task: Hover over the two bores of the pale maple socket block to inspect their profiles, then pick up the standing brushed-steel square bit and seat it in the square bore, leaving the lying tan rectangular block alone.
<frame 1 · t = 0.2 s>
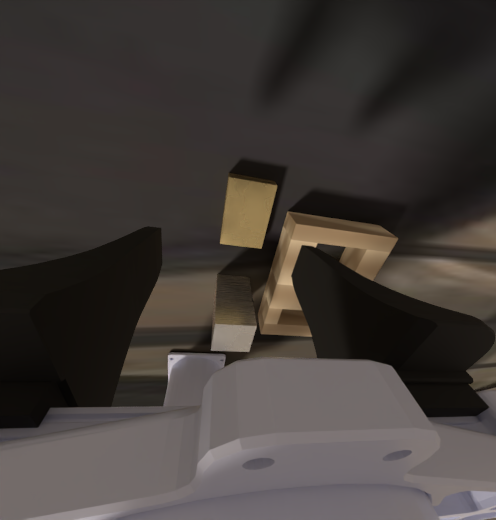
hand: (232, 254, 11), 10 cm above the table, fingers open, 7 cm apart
socket block: (311, 274, 25), on the table
tan rectangular block: (245, 208, 21), on the table
square bit: (231, 288, 25), on the table
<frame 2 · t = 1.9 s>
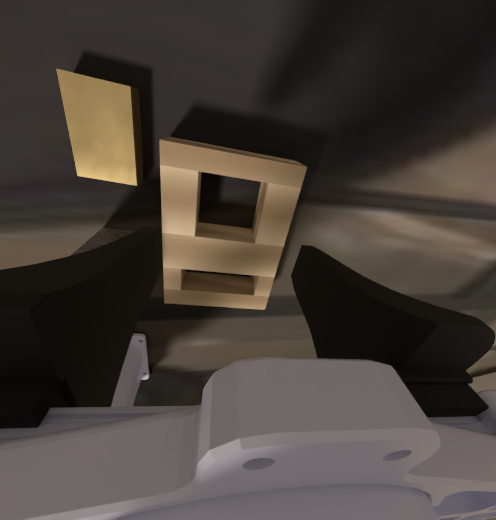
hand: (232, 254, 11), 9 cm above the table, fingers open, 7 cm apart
socket block: (224, 230, 21), on the table
box: (468, 408, 51), on the table
tan rectangular block: (114, 133, 16), on the table
square bit: (126, 247, 21), on the table
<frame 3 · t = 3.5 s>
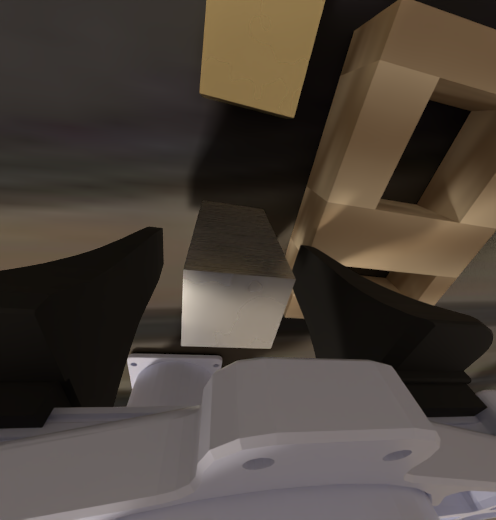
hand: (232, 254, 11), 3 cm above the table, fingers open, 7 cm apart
socket block: (378, 206, 14), on the table
tan rectangular block: (258, 24, 9), on the table
square bit: (229, 232, 14), on the table
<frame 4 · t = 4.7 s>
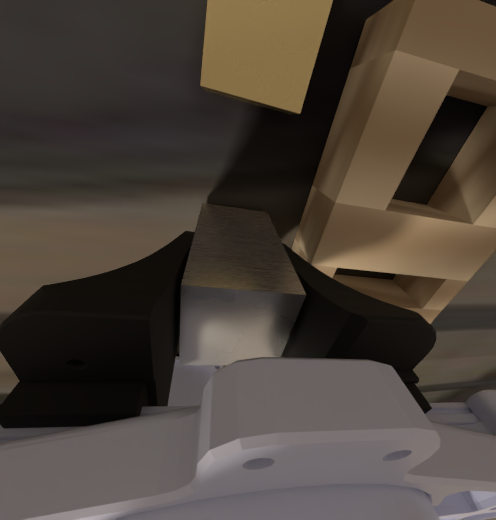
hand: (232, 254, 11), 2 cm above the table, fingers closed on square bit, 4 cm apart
socket block: (386, 206, 13), on the table
tan rectangular block: (264, 12, 9), on the table
square bit: (231, 236, 13), on the table, touching gripper
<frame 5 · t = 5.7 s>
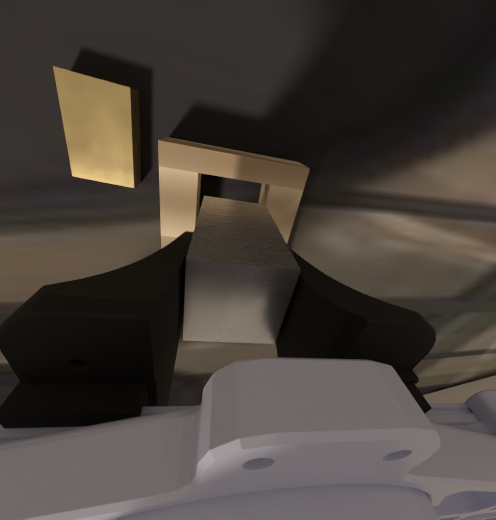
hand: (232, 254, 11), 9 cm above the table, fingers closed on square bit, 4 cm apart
socket block: (225, 232, 20), on the table
box: (469, 410, 51), on the table
tan rectangular block: (112, 133, 16), on the table
square bit: (231, 228, 14), point 6 cm above the table, touching gripper
when the fingers open (4 cm above the table, at t = 7.0 s): square bit stays where it is, on the table.
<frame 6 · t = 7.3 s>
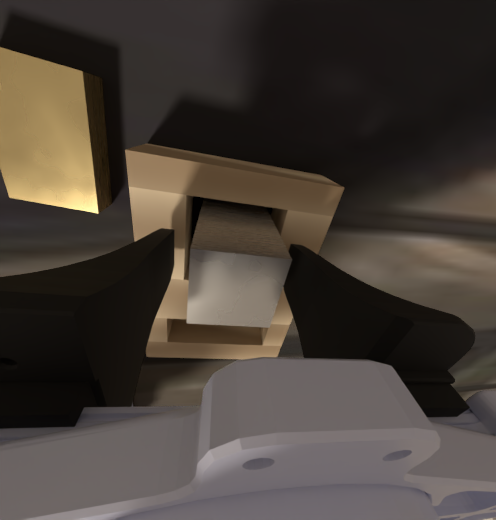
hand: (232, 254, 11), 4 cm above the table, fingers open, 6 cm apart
socket block: (225, 263, 16), on the table
tan rectangular block: (68, 138, 11), on the table
square bit: (230, 223, 14), on the table
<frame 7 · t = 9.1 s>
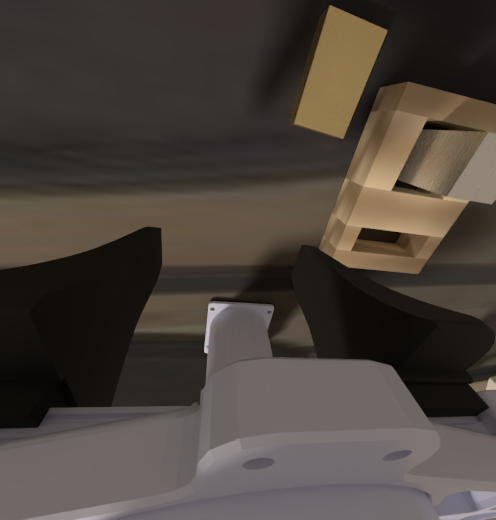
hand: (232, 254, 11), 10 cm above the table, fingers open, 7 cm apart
socket block: (391, 191, 21), on the table
tan rectangular block: (325, 84, 16), on the table
square bit: (408, 155, 19), on the table
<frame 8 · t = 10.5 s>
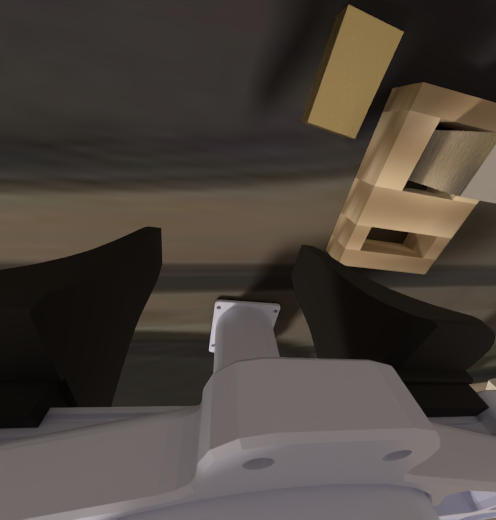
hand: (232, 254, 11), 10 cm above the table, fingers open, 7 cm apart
socket block: (400, 191, 21), on the table
tan rectangular block: (338, 84, 16), on the table
square bit: (418, 156, 19), on the table
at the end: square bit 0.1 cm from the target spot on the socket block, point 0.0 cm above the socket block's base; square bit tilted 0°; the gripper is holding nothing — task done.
